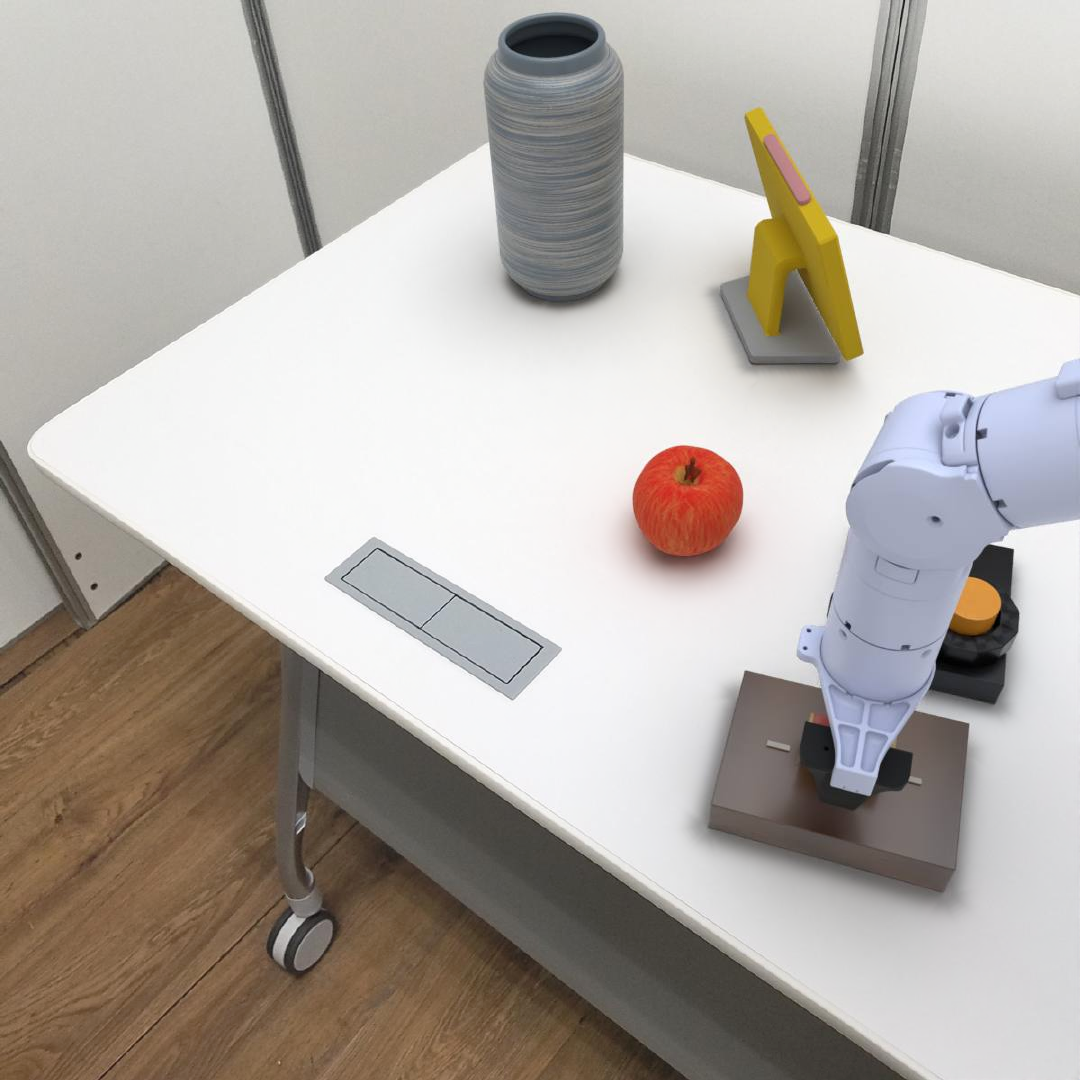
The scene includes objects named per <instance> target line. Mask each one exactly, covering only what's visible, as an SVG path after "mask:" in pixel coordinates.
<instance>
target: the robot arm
mask: <svg viewBox="0 0 1080 1080" xmlns="http://www.w3.org/2000/svg"><path fill="white" fill-rule="evenodd" d="M883 419H884V420H883V424H882V426H881V428H880V430H879V431H878V434H877V435H876V438H875V439H874V441H873V443H872V445H871V446H870V449H869V451H868V453H867V455H866V457H865V458H864V460H863V462H862V464H861V466H860V468H859V470H858V471H857V474H856V475H855V477H854V479H853V480H852V483H851V484H850V485H851V486H850V488H849V493H848V495H847V497H846V501H845V516H846V520H847V522H848V525H849V529H848V532H847V536H846V539H845V544H844V547H843V548H844V549H843V552H842V555H841V559H840V564H839V567H838V571H837V576H836V580H835V585H834V589H833V591H832V593H831V595H830V598H829V603H828V607H827V613H826V622H825V625H822V626H820V625H818V626H817V625H813V624H807V625H804V626H803V627H802V628H801V630H800V635H799V639H798V643H797V649H796V657H797V658H798V659H799V660H800V661H801V662H804V663H809V664H812V665H813V666H814V667H815V669H816V672H817V675H818V680H819V684H820V688H821V689H822V693H823V697H824V701H825V706H826V710H827V714H828V719H829V723H830V727H829V726H825V725H821V724H817V723H812V722H808V721H805V724H804V729H803V734H802V738H801V743H800V748H799V756H800V762H801V765H802V766H803V767H804V768H806V769H807V770H809V771H810V772H811V773H812V774H813V775H814V777H815V782H816V789H817V794H818V797H819V800H820V801H821V802H822V803H826V804H830V805H833V806H837V807H841V808H845V809H849V810H852V811H853V810H855V809H857V808H858V807H859V806H861V805H862V804H863V803H864V802H865V801H867V800H868V799H869V798H870V797H871V796H873V795H875V794H877V793H880V792H887V791H901V790H902V789H903V788H904V787H905V785H906V784H907V782H908V780H909V778H910V774H911V766H912V758H913V753H912V752H908V751H904V750H900V749H896V748H892V747H890V746H891V745H892V743H893V742H894V740H895V739H896V737H897V736H898V734H899V733H900V731H901V730H902V728H903V727H904V725H905V724H906V722H907V721H908V719H909V718H910V716H911V715H912V713H913V712H914V710H915V711H916V709H917V707H918V706H919V704H920V703H921V701H922V700H923V699H924V697H925V695H926V694H927V692H928V691H929V690H930V689H929V687H930V685H931V682H932V680H933V677H934V673H935V667H936V658H937V655H938V653H939V650H940V648H941V645H942V643H943V640H944V638H945V635H946V633H947V630H948V628H949V625H950V621H951V619H952V617H953V614H954V611H955V609H956V606H957V604H958V601H959V599H960V596H961V593H962V591H963V588H964V586H965V583H966V581H967V578H968V575H969V573H970V570H971V568H972V564H973V561H974V560H975V559H976V558H977V557H978V556H979V555H980V553H981V552H982V550H983V549H984V547H986V546H987V545H989V544H994V543H1000V542H1003V541H1004V538H1005V537H1007V536H1008V534H1009V532H1010V531H1016V530H1017V531H1018V530H1023V529H1028V528H1034V527H1041V526H1049V525H1055V524H1061V523H1066V522H1067V523H1068V522H1073V521H1080V358H1079V357H1078V358H1076V359H1072V360H1068V361H1064V362H1063V364H1062V365H1061V367H1060V369H1059V372H1058V374H1057V375H1055V376H1052V377H1048V378H1045V379H1040V380H1036V381H1033V382H1029V383H1025V384H1022V385H1018V386H1017V385H1016V386H1013V387H1010V388H1006V389H1003V390H998V391H994V392H991V393H987V394H983V395H979V396H974V395H971V394H969V393H965V392H962V391H957V390H952V389H951V390H949V389H939V390H932V391H928V392H927V391H926V392H922V393H917V394H914V395H911V396H909V397H907V398H905V399H903V400H902V401H900V402H898V403H897V404H896V405H895V406H894V408H893V410H892V411H890V412H888V413H887V414H885V416H884V418H883Z"/></svg>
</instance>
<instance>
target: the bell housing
mask: <svg viewBox="0 0 1080 1080" xmlns="http://www.w3.org/2000/svg"><path fill="white" fill-rule="evenodd" d="M1014 555H1015V549H1014V548H1011V547H1006V546H1001V545H996V544H993V543H991V544H989V545H987V546H986V547H984V549H983V550H982V552H981V553H980V555H979V556H978V557H977V558H976V559H975V560H974V561H973V564H972V568H971V570H970V573H969V575H968V577H974V578H978V579H981V580H983V581H985V582H987V583H989V584H990V585H991V586H992V587H994V589H995V590H996V591H997V592H998V594H999V596H1000V599H1001V608H1000V610H999V613H998V615H997V617H996V620H995V622H994V624H993V626H992V628H991V629H990V630H988V631H987V632H985V633H983V634H981V635H976V636H967V635H962V634H959V633H956V632H954V631H952V630H951V629H949V628H948V630H947V633H946V635H945V638H944V640H943V643H942V645H941V648H940V650H939V653H938V655H937V658H936V667H935V673H934V677H933V680H932V682H931V685H930V687H929V689H928V690H932V691H933V690H934V691H937V692H943V693H946V694H951V695H955V696H958V697H964V698H967V699H973V700H976V701H981V702H984V703H988V704H993V705H995V704H996V703H997V701H998V699H999V697H1000V695H1001V694H1002V691H1003V688H1004V687H1005V679H1006V667H1007V665H1006V664H1007V653H1008V652H1009V650H1011V649H1012V647H1013V644H1014V642H1015V641H1016V638H1017V636H1018V634H1019V630H1020V629H1019V628H1020V610H1019V608H1018V607H1017V605H1016V603H1015V602H1014V600H1013V598H1012V597H1011V596H1012V584H1013V571H1014V570H1013V569H1014V559H1015V558H1014Z"/></svg>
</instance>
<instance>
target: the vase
mask: <svg viewBox="0 0 1080 1080" xmlns="http://www.w3.org/2000/svg"><path fill="white" fill-rule="evenodd" d="M624 72H625V71H624V66H623V63H622V61H621V58H620V56H619V54H618V53H617V51H616V50H615V48H613V46H611V44H610V43H609V42H607V36H606V32H605V30H604V28H603V26H602V25H601V24H600V23H598V22H597V21H596V20H594V19H592V18H590V17H588V16H585V15H581V14H577V13H572V12H571V13H570V12H557V11H556V12H555V11H554V12H544V13H542V12H541V13H537V14H532V15H528V16H524V17H522V18H520V19H517V20H515V21H513V22H512V23H510V24H508V25H507V26H506V27H504V29H502V31H501V32H500V34H499V35H498V38H497V48H496V49H495V51H494V52H493V53H492V55H491V56H490V58H489V59H488V62H487V64H486V66H485V69H484V73H483V81H482V82H483V83H482V84H483V92H484V103H485V113H486V123H487V124H486V125H487V133H488V135H487V136H488V144H489V154H490V156H489V157H490V166H491V175H492V185H493V197H494V205H495V217H496V227H497V228H496V229H497V239H498V248H499V256H500V261H501V264H502V266H503V268H504V270H505V271H506V274H507V275H508V276H509V277H510V278H511V279H512V280H513V281H514V282H515V283H516V284H518V285H519V286H521V288H522V289H523V290H524V291H525V292H527V293H528V294H530V295H531V296H533V297H536V298H539V299H540V300H541V299H542V300H545V301H549V302H550V301H551V302H569V301H575V300H580V299H583V298H585V297H588V296H590V295H591V294H593V293H595V292H597V291H598V290H599V289H600V288H601V287H602V286H603V285H604V284H605V283H606V281H607V280H609V279H610V277H611V276H612V275H614V273H615V272H616V270H617V269H618V267H619V265H620V263H621V261H622V258H623V253H624V176H625V175H624V163H625V161H624V160H625V159H624V158H625V157H624V154H625V153H624V150H625V149H624V148H625V145H624V143H625V142H624V141H625V140H624V139H625V138H624V135H625V133H624V132H625V131H624V130H625V122H624V121H625V119H624V118H625V114H624V113H625V110H624V109H625V108H624V107H625V97H624V96H625V74H624Z"/></svg>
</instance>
